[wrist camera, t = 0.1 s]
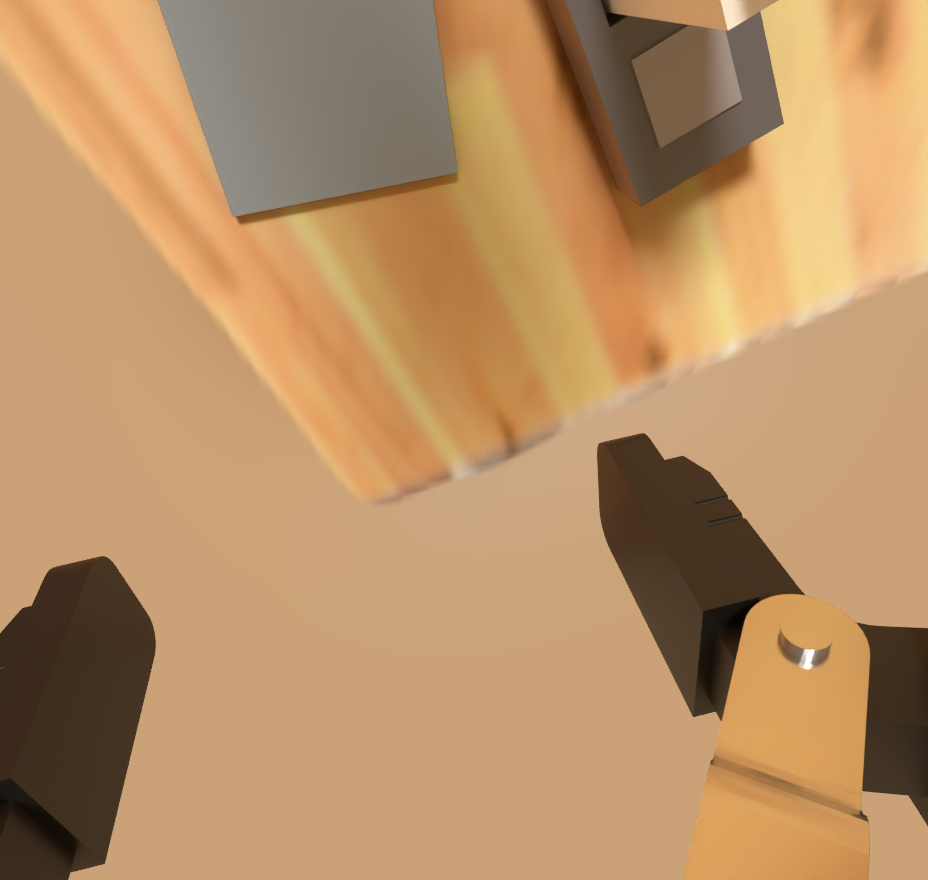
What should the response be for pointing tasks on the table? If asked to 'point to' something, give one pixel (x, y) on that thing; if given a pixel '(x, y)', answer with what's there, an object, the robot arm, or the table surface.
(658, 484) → the robot arm
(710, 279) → the table surface
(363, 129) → the rubber mat
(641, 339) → the table surface
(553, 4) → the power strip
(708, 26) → the white square bottle
